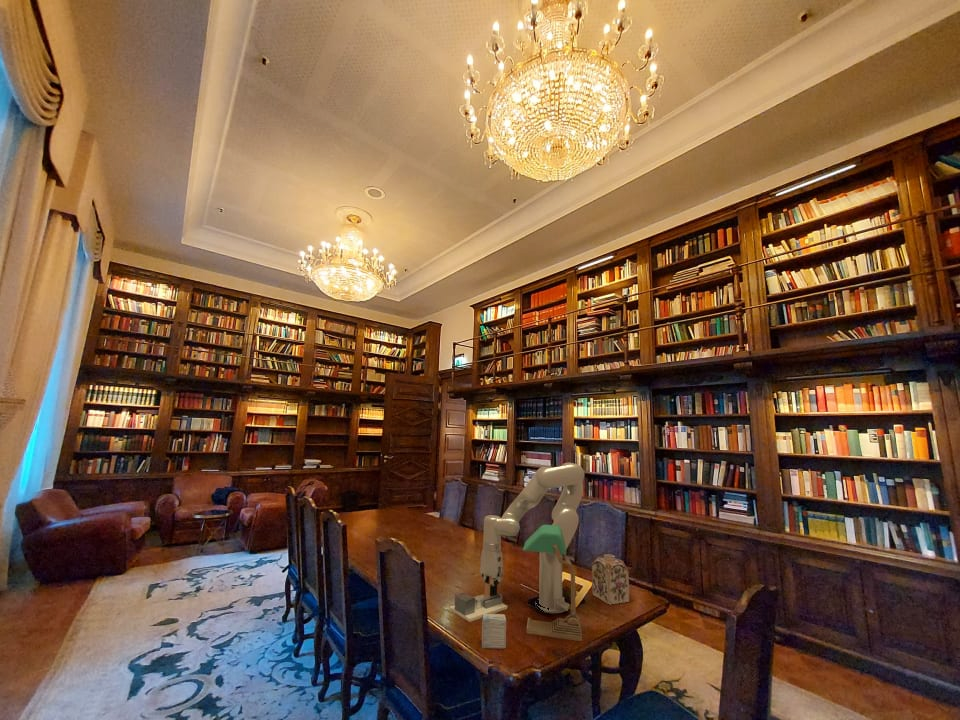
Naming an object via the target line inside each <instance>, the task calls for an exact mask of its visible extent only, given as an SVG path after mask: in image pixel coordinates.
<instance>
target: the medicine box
mask: <svg viewBox="0 0 960 720" xmlns="http://www.w3.org/2000/svg"><path fill="white" fill-rule="evenodd" d="M481 620H482V623H481V649H506V648H507V647H506V643H507V637H506V636H507V635H506V634H507V618H506V615H505V614H501V613H500V614H499V613H494V614H482V618H481Z"/></svg>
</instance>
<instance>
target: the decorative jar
mask: <svg viewBox="0 0 960 720" xmlns="http://www.w3.org/2000/svg"><path fill="white" fill-rule="evenodd" d="M629 577H630V576H629V569H628V567H627V565H626V564H625V562H624V561H623V560H621V559H618V558H616V557H615V555H613V554H610V553H608V554H607V553H606V554H603V556H598V557H596V558H595V560H594V561H593V562H592V563H591V589H592V596H593V597H595V598H597V599H598V600H600V601H602V602H604V603H605V604H607V605H608V604H609V606H611V605H612V604H613V605H618V604H619V603H620V604H626V602H627V603H630V581H629Z"/></svg>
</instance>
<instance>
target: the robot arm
mask: <svg viewBox="0 0 960 720" xmlns="http://www.w3.org/2000/svg"><path fill="white" fill-rule="evenodd" d="M584 478H585V470H584V469H583V467H582V466H581V465H580V464H578V463H574V462H565V463H562V465H560V466H554V467H548V466H542V467H539V468H538V469H537V470H536V471H535V472H534V474H533V475H532V477H531V478H530V480H529V481H528V482H527V484H526V485H525V486H524V488H523V489H522V491H521V492H520V493H519V494H518V495H517V496H516V498H515V499H514V500H513V501H512V502H511V503H510V505H509V506H508V507H507V509H506V510H505V512H504V513H503V515H502V516H499V515H493V514H491V515H485V516H484V519H483V541H482V544H483V545H482V550H481V556H480V568H479V574H480V576H481V577H482V582H483V583H484V582H488V581H492V586H491V596H492V597H493V596H496V595H497V593H498V585H499V584H500V583H501V582H503V581H504V578H503V576H504V559H503V553H502V544H501V543H502V541H501V540H502V536H506V537H514V536H516V535H517V534H518V533H519V531H520V529H521V528H520V524H519V522H520V521H521V519H522V518H523V517H524V515H525V514H526V513H527V512H528V511H529V510H531V509H533V508H535V507H536V506H537V505H538V504H539V503H540V502H541V500H542V499H543V497H544V496H545V494H546V493H547V492H548V490H549V489H557V488H563V489H562V490H561V494H560V495H559V498H558V500H557V502H556V504H555V505H554V507H553V509H552V512H551V519H552V520H553V523H552V524H551V525H557V526H559V527H560V528H561V530H562V534H563V537H564V541H565V544H566V550H567V549H568V547H569V546H570V544H571V541H572V540H573V537H574V536H575V533H576V531H577V528H578V527H579V514H578V513H577V511H578V510H577V509H578V507H579V505H580V502H581V500H582V497H583V493H584V484H583V480H584ZM538 553H539V554H538V555H539V571H538V573H539V577H538V578H539V579H538V580H539V581H538V582H539V588H538V589H539V591H538V592H539V594H538V595H539V596H538V597H539V598H538V600H539V604H540V605H541V606H543V607H545V608H543V607H540V606H538V605H537V606H538V607H539V608H540V609H541V610H543V611H544V612H543V611H542V612H543V613H548V614H561V613H564V612H567V611H569V607H570V603H568V602H566V601H565V597H564V596H563V564H562V563H560V562H559V561H558V558H557V555H556V554H555V553H545V552H538ZM561 556H562V555H561ZM562 557H563V556H562ZM536 604H537V603H536V602H535V605H536ZM547 608H549V610H548V609H547ZM541 610H540V611H541Z"/></svg>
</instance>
